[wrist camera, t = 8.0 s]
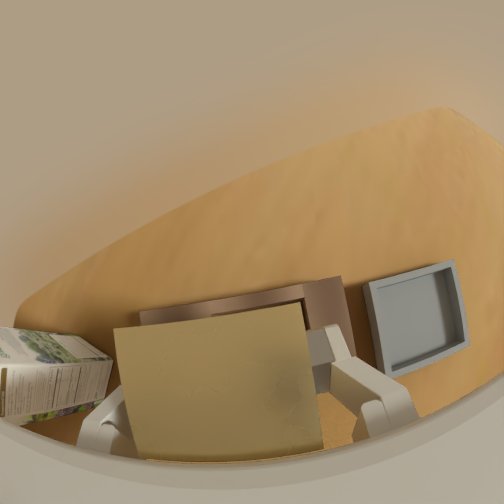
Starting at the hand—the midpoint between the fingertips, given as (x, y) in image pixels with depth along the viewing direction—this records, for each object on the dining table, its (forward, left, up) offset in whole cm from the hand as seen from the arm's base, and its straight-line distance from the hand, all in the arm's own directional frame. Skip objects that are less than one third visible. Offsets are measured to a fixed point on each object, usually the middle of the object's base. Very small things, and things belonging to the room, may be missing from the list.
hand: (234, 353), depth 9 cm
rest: (+14, -2, -13) cm, 19 cm away
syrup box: (-18, -2, -13) cm, 23 cm away
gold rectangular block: (0, -1, -6) cm, 6 cm away
